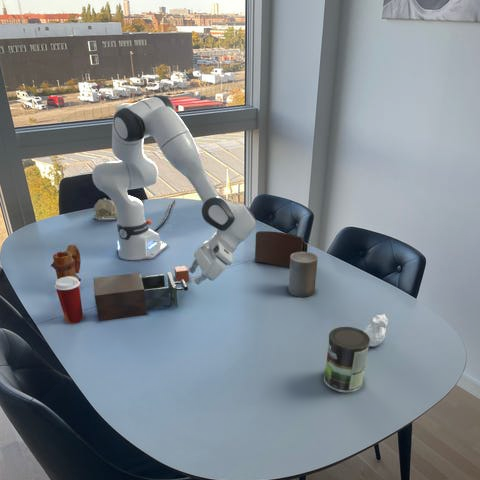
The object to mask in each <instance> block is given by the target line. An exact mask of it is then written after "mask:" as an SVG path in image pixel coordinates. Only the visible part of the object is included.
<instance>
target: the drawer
mask: <svg viewBox="0 0 480 480" xmlns="http://www.w3.org/2000/svg"><path fill="white" fill-rule="evenodd" d="M166 275H167V286H166V280H165V274H163V273H161V274H153V275H145V276H141V279H142V283H143V287H144V293H145V301H146V310H147V311H151V310H157V309H163V308H170V307H171V302H172V305H173V308H174V309H178V308H179V302H178V291H184V292H187V291H188V290H189V287H188V285H187V282H185V280H181V281H180V282H177V281H175V280H174V277H173V275H172V273H171V271H169V272H166ZM179 284H180V285H181V287H177V285H179ZM170 299H171V300H170Z"/></svg>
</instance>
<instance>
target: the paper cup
mask: <svg viewBox="0 0 480 480" xmlns="http://www.w3.org/2000/svg"><path fill="white" fill-rule="evenodd" d="M54 283H55V284H54V289H55V290H56V293H57V296H58V300H59V304H60V308H61V311H62V313H63V317H64V320H65V322H66V323H67V324H77V323H80V322H81V321H83V319H84V311H83V304H82V296H81V291H80V290H81V288H80V285H81V281H80V282H79V281H78V279H77V278H76V277H72V276H67V277H62V278H60V279H56V281H55V282H54Z"/></svg>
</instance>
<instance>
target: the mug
mask: <svg viewBox="0 0 480 480" xmlns="http://www.w3.org/2000/svg"><path fill="white" fill-rule="evenodd" d="M52 259H53V262H52V263H51V264H50V267H52V268H53V269H54V270H55V275H56V278H57V279H56V280H58V279H60V278H62V277H67V276H72V277H76V278H77V279H78V281H79V282H80V283H81V281H82V278H80V277H79V276H78V275H77V274H80V270H81V262H82V261H81V253H80V250H79V248H78V247H77V246H76V245H75V244H68V245H67V247H66V250H64V251H58V252H57V253H54V254H53V256H52ZM53 284H54V285H55V282H54V283H53Z"/></svg>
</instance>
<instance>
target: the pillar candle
mask: <svg viewBox="0 0 480 480" xmlns="http://www.w3.org/2000/svg"><path fill="white" fill-rule="evenodd" d="M318 259H319V257H318V256H317V255H316V254H315V253H313V252H309V251H307V252H296V253H293V254H291V257H290V267H289V275H288V292H289V294H291V295H292V296H294V297H298V298H306V297H310V296H313V295H314V294H315V292H316V291H315V290H316V280H317V271H318Z"/></svg>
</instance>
